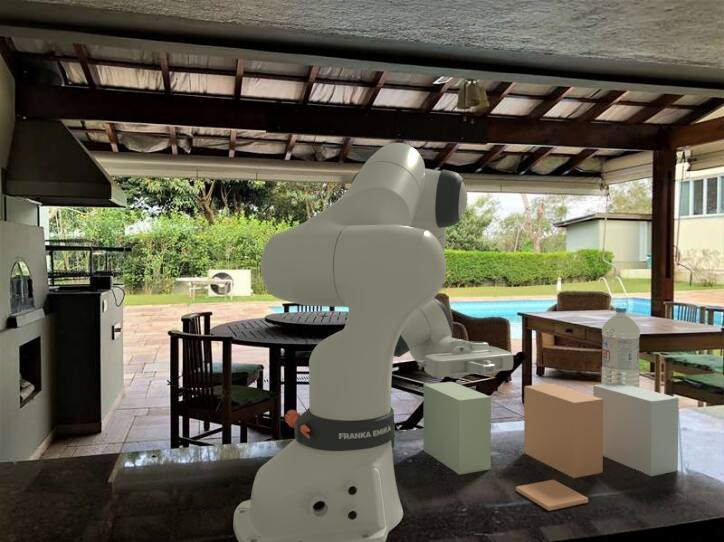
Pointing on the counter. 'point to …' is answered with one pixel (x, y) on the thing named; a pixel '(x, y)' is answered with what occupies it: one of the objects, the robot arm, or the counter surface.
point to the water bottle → (620, 350)
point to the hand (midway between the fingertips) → (489, 369)
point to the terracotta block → (564, 429)
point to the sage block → (457, 427)
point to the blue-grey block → (639, 427)
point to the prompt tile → (551, 495)
